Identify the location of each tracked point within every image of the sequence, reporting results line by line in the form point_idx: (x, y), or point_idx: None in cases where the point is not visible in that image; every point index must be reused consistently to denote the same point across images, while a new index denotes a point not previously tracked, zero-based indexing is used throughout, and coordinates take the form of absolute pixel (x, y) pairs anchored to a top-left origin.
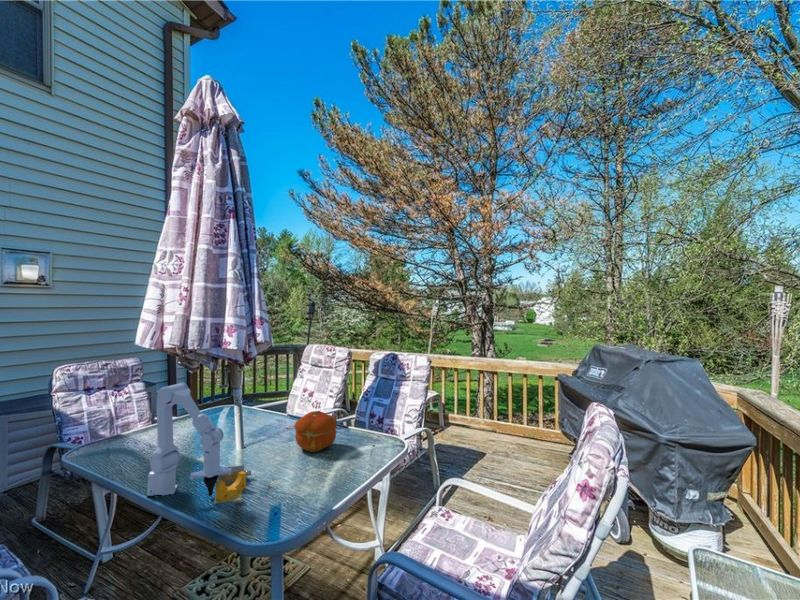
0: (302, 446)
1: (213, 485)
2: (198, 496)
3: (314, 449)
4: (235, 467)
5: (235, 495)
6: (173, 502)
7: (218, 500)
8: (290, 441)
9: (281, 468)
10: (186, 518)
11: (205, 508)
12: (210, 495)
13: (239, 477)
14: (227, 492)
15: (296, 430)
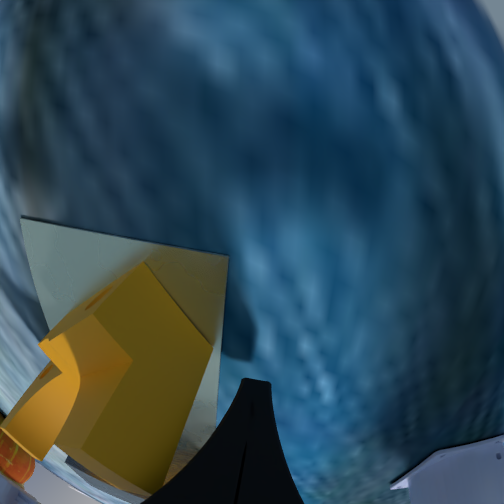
0: (2, 434)
1: (196, 472)
2: (341, 418)
3: None
4: (122, 498)
5: (69, 307)
6: (480, 390)
7: (184, 299)
8: (70, 473)
9: (14, 400)
10: (500, 76)
11: (325, 186)
12: (256, 382)
13: (37, 427)
14: (72, 321)
15: (12, 479)
